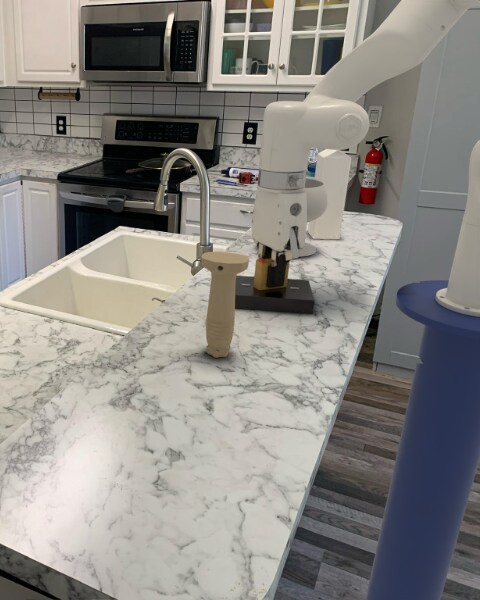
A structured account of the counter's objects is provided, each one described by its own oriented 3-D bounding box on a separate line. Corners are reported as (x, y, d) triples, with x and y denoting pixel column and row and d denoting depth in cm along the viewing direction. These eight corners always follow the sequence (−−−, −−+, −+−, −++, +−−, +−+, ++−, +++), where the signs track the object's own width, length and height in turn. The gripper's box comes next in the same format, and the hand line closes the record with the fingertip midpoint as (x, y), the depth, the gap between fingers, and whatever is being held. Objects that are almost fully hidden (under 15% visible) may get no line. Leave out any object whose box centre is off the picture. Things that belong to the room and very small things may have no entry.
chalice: (252, 239, 143) (258, 175, 138) (314, 241, 141) (323, 176, 135) (257, 258, 131) (264, 188, 125) (326, 261, 128) (336, 190, 123)
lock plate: (307, 292, 112) (309, 279, 111) (312, 314, 103) (314, 299, 102) (229, 287, 115) (230, 274, 114) (227, 307, 106) (228, 293, 105)
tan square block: (280, 283, 110) (283, 255, 108) (286, 286, 108) (290, 258, 106) (253, 286, 108) (255, 258, 106) (259, 290, 107) (262, 262, 105)
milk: (333, 232, 148) (347, 139, 139) (339, 239, 142) (354, 143, 134) (307, 232, 148) (319, 139, 140) (312, 239, 143) (325, 142, 135)
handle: (201, 343, 94) (206, 249, 88) (243, 351, 91) (252, 255, 85) (192, 356, 90) (197, 259, 84) (235, 365, 87) (244, 265, 81)
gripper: (331, 187, 95) (316, 297, 102) (274, 170, 109) (264, 267, 116) (289, 191, 93) (276, 302, 100) (236, 173, 107) (229, 271, 114)
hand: (270, 283), depth 108 cm, fingers closed on tan square block, 2 cm apart
